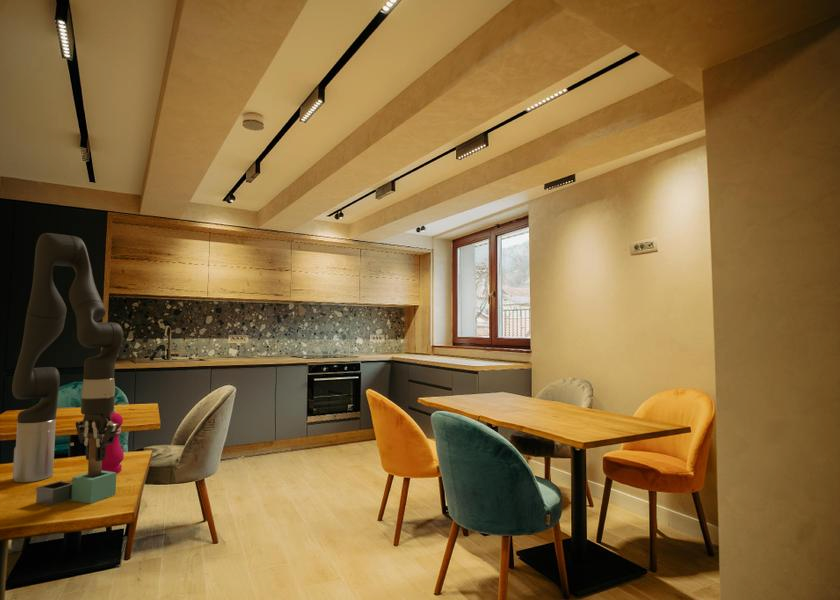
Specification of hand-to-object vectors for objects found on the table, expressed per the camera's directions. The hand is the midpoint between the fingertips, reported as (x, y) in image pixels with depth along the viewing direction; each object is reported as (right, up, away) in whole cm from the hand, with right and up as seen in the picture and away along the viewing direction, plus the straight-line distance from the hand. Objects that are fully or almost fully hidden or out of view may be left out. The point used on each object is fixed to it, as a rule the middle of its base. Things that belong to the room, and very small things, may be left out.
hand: (95, 459), depth 129 cm
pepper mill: (-10, -12, +22) cm, 27 cm away
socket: (0, -10, -1) cm, 10 cm away
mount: (-8, -10, -3) cm, 13 cm away
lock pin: (0, -5, 0) cm, 5 cm away
